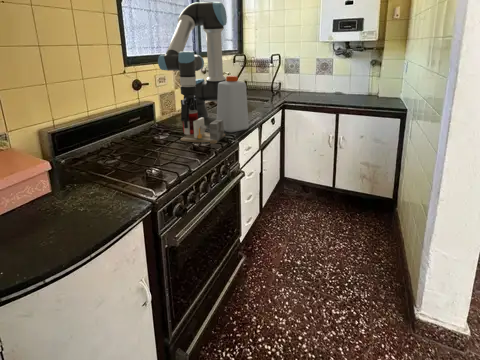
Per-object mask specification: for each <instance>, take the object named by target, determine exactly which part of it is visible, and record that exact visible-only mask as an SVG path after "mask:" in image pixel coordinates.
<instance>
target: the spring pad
mask: <svg viewBox="0 0 480 360" xmlns="http://www.w3.org/2000/svg"><path fill="white" fill-rule="evenodd" d="M193 126H194V138H198V135H199V128H200V134H204V133H205V132H206V130H207V129H208V126H207V125H205V119H204V117H201V118H199V119H197V120H195V121H193ZM207 131H208V130H207Z"/></svg>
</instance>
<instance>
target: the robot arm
mask: <svg viewBox="0 0 480 360" xmlns="http://www.w3.org/2000/svg"><path fill="white" fill-rule="evenodd" d="M225 7H226V6H225V5H224V4H223V3H222V2H220V1H205V2H204V1H203V2H202V1H201V2H199V1H197V2H193V3H191V4H189V5H187V6H186V7H185V8H184V9H183V10H182V11H181V13H180V15H179V16H178V19H177V26H176V29H175V31H174V33H173V36H172V37H171V41H170V43H169V46H168V48H167V50H166V53H165V54H164V53H163V54H160V55H159V56H158V57H157V65H158V67H159V69H160V70H161V71H167V72H171V71H172V72H173V71H178V72H179V83H180V87H179V88H180V94H181V95H183V99H180V121H181V122H182V121H184V132H183V134H184V135H190V124H189V121H188V120H189V111H190V110H197V112H198V119H199V118H201V117H204V120H206V119H209V112H208V109H207V106H206V102H217V99H218V83H219V82H223V81H226V76H224V69H223V67H224V66H223V46H222V44H223V43H222V41H223V40H222V31H223V30H224V29H225V28H224V26H226V25H227V20H228V16H227V11H226V8H225ZM199 26H202V30H203V31H204V32H205V39H206V40H205V41H206V53H207V54H206V56H207V70H208V71H207V73H208V76H207V77H206V80H205V79H204V78H197V76H196V71H197V72H198V71H200V70H202V69H203V68H204V66H205V60H204V58H203V57H202V56H201V55H199V54H195V52H194V51H192V50H191V51H187V50H186V51H184V50H185V48H186V45H187V43H188V40H189V38H190V35H191V33H192V31H193V30H195V27H199Z"/></svg>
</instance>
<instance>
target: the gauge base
mask: <svg viewBox="0 0 480 360" xmlns="http://www.w3.org/2000/svg"><path fill="white" fill-rule="evenodd" d="M225 137H226V133H225V131H224V122H223V119H217V118H216V119H215V120H213V121H211V122H210V123H209V132H206V131H205V133H204V134H202V138H194V134H190V135H188V134H185V135H184V136H183V137H181V138H180V141H181V142H189V143H190V142H192V143H200V142H210V143H209V144H212V145H213V144H214V145H215V144H217V143H218V142H219V141H221V140H222V139H224V138H225Z"/></svg>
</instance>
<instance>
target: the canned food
mask: <svg viewBox="0 0 480 360" xmlns="http://www.w3.org/2000/svg"><path fill="white" fill-rule="evenodd" d="M197 119H198V112H197V110H190V111H189V120H188V121H189V124H190V134H194V126H193V121H195V120H197ZM181 123H182V131H183V133H184V121H181Z"/></svg>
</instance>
